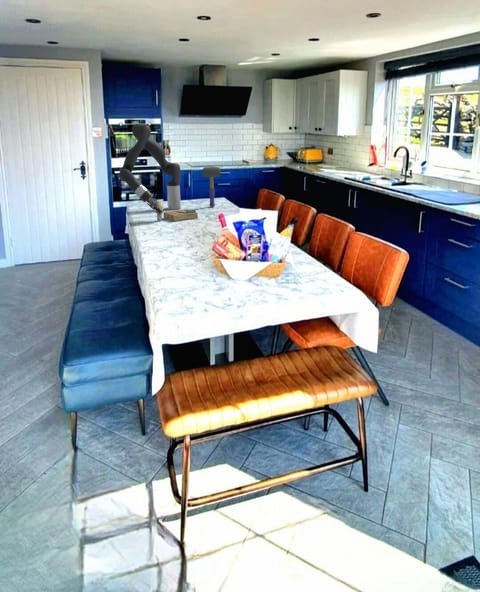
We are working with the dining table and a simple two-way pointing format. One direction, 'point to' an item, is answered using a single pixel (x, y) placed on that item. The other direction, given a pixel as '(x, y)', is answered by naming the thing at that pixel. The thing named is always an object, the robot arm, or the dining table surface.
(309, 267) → the dining table surface
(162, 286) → the dining table surface
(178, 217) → the subfloor panel
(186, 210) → the stud finder
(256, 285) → the dining table surface
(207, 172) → the rubber mallet
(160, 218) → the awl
